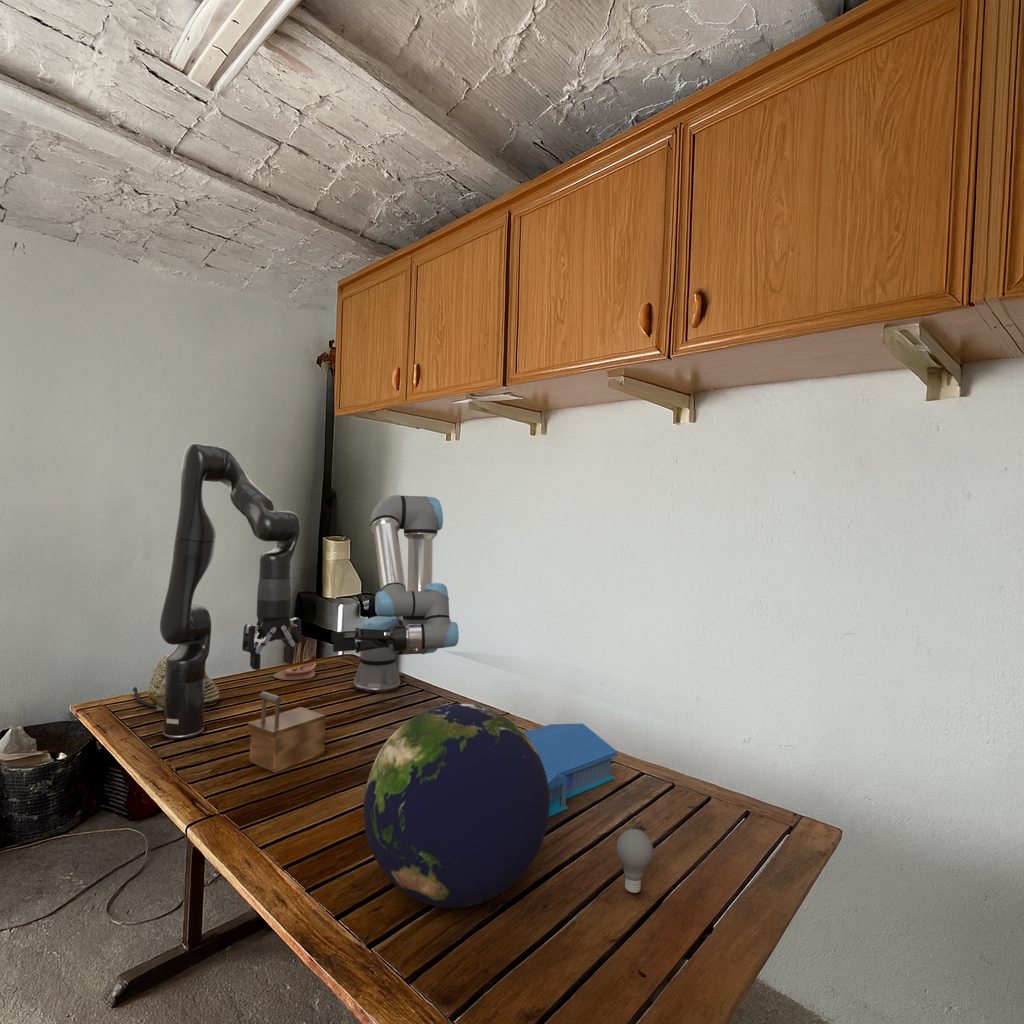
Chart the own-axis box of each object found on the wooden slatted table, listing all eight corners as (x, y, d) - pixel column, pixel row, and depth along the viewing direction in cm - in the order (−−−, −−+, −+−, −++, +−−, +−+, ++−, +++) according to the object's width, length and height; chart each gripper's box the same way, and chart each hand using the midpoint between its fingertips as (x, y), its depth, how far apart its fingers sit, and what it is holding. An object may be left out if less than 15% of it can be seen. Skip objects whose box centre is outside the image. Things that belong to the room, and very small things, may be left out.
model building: (497, 839, 120) (500, 786, 120) (424, 791, 138) (425, 745, 138) (625, 783, 146) (627, 740, 146) (549, 749, 164) (551, 711, 164)
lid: (272, 736, 143) (274, 701, 143) (247, 726, 149) (248, 692, 148) (325, 718, 156) (326, 686, 156) (300, 710, 161) (301, 678, 161)
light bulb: (610, 879, 108) (613, 822, 108) (644, 879, 109) (647, 822, 109) (619, 902, 102) (622, 840, 102) (655, 901, 103) (658, 840, 103)
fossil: (144, 707, 182) (145, 655, 182) (212, 696, 194) (213, 647, 194) (151, 716, 175) (153, 662, 175) (221, 703, 188) (223, 653, 188)
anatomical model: (267, 666, 215) (286, 658, 227) (267, 678, 215) (286, 669, 227) (303, 670, 213) (320, 662, 224) (303, 682, 213) (320, 673, 224)
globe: (319, 919, 95) (326, 721, 95) (420, 827, 123) (427, 673, 122) (502, 984, 84) (511, 760, 83) (568, 867, 112) (576, 698, 111)
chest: (274, 772, 144) (276, 735, 144) (249, 761, 149) (250, 725, 149) (324, 753, 156) (325, 718, 156) (299, 743, 161) (300, 710, 161)
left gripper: (257, 602, 139) (254, 675, 140) (310, 595, 151) (307, 662, 152) (237, 597, 144) (234, 668, 144) (290, 591, 156) (287, 657, 156)
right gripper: (409, 641, 176) (330, 646, 171) (404, 657, 198) (333, 663, 193) (408, 614, 179) (330, 619, 174) (403, 634, 201) (333, 638, 196)
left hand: (272, 665), depth 148 cm, fingers open, 8 cm apart
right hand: (332, 642), depth 183 cm, fingers open, 13 cm apart
